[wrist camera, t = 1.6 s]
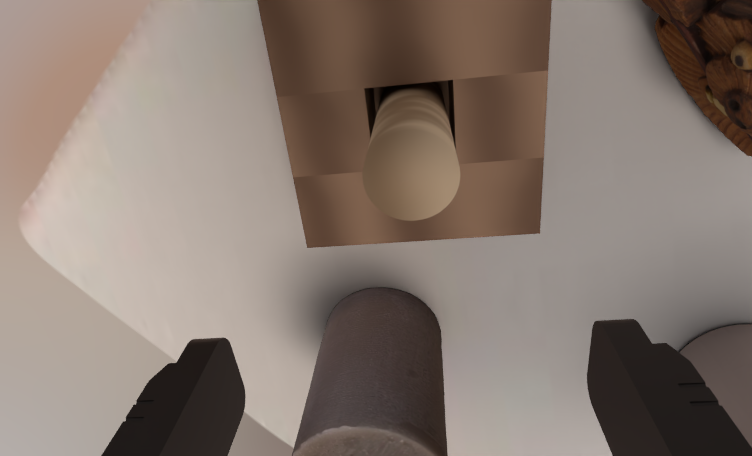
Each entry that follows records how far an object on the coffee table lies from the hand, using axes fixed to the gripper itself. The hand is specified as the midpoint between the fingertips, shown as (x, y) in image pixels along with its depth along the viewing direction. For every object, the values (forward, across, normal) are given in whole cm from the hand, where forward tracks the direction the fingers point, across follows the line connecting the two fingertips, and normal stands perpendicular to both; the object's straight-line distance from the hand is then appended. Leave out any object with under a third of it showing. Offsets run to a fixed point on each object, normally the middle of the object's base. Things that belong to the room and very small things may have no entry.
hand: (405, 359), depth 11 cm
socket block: (+24, 0, 0) cm, 24 cm away
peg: (+23, 0, 0) cm, 23 cm away
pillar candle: (+24, +4, +19) cm, 31 cm away
